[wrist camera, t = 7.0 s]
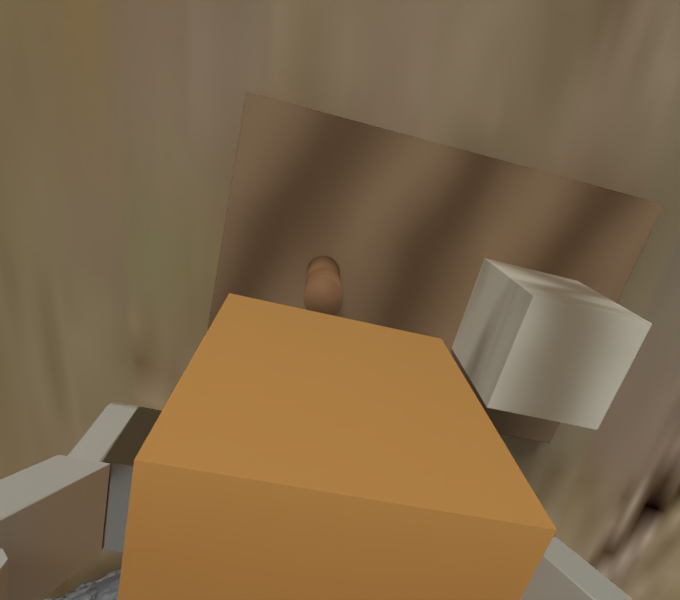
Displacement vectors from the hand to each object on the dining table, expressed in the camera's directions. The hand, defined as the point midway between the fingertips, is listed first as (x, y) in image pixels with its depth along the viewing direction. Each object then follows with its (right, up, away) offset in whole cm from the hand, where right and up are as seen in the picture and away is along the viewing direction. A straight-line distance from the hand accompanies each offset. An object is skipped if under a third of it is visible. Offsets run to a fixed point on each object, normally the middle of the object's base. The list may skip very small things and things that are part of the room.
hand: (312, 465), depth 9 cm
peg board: (+5, +4, +15) cm, 16 cm away
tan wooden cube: (0, +1, +2) cm, 2 cm away
